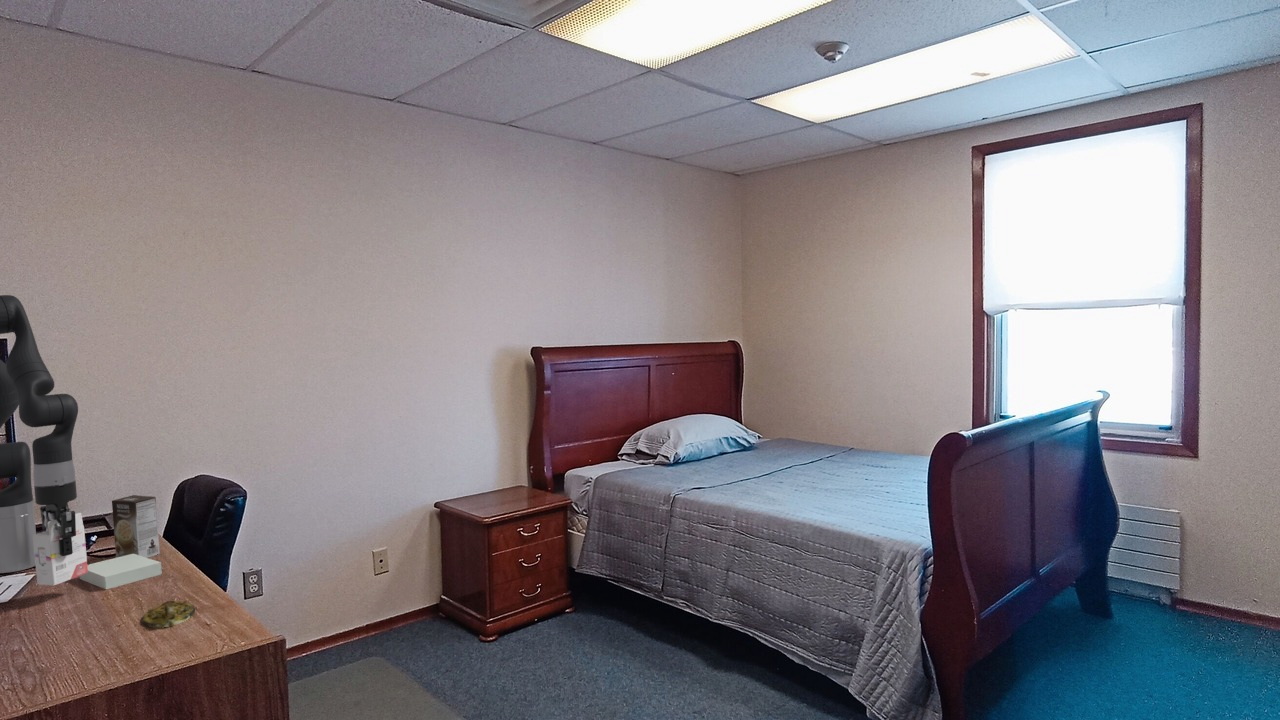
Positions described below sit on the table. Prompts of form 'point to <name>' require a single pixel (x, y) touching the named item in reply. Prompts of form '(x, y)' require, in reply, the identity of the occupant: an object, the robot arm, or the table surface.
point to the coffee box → (135, 526)
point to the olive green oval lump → (169, 614)
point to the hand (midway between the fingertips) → (60, 552)
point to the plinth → (121, 571)
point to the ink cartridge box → (51, 562)
